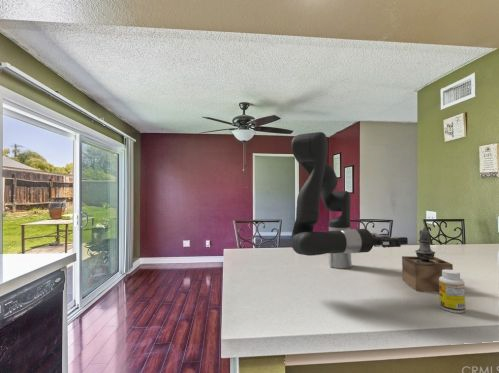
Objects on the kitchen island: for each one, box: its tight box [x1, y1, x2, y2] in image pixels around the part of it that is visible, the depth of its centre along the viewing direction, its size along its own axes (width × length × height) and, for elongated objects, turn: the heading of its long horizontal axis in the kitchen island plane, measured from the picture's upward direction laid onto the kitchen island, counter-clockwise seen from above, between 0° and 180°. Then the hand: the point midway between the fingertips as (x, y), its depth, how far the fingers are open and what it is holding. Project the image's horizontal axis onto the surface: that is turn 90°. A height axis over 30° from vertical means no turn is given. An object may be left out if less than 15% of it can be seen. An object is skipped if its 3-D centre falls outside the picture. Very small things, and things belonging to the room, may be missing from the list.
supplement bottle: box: [438, 269, 466, 314], centre depth 75 cm, size 6×6×10 cm
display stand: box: [401, 255, 454, 293], centre depth 94 cm, size 11×11×9 cm
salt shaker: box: [414, 226, 436, 263], centre depth 94 cm, size 6×6×12 cm
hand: (397, 238), depth 92 cm, fingers open, 8 cm apart
